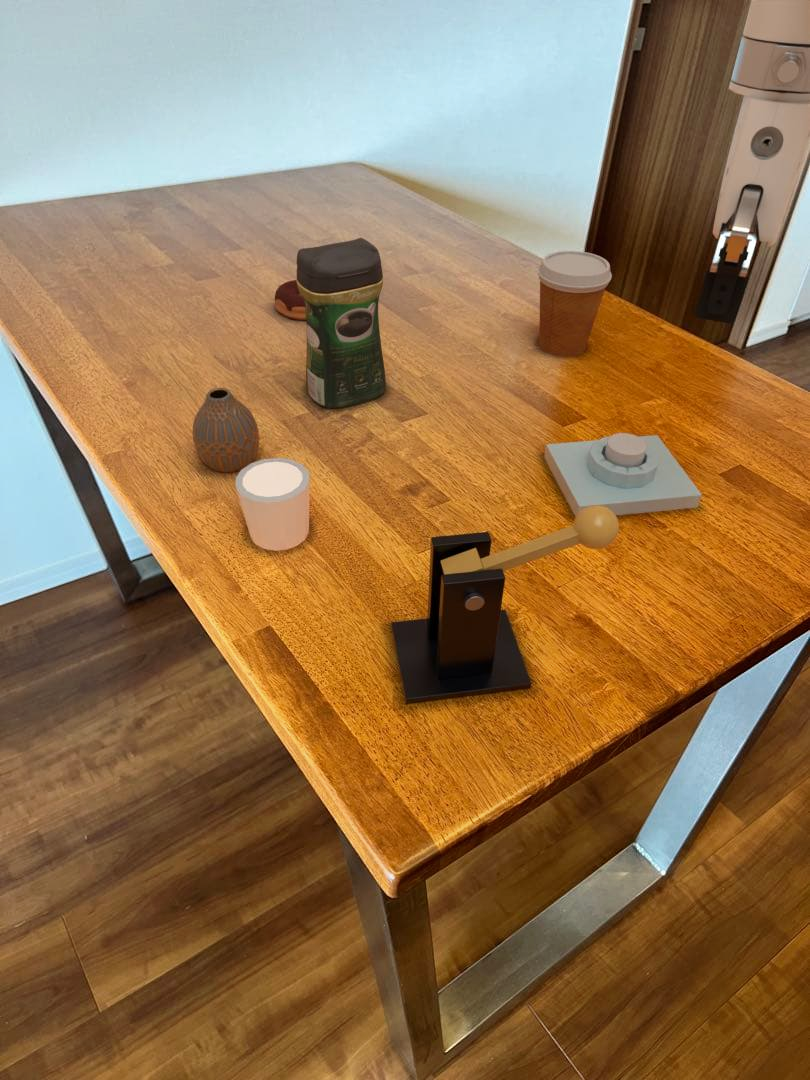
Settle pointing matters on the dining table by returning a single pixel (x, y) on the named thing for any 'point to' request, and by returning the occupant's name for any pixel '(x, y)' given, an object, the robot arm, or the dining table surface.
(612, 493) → the square base plate
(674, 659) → the dining table surface
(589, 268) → the disposable coffee cup
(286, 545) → the pale pink cup
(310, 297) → the coffee jar
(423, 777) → the dining table surface
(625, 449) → the round push button
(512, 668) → the lever bracket
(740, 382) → the dining table surface
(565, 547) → the flush lever
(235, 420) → the vase
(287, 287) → the donut
